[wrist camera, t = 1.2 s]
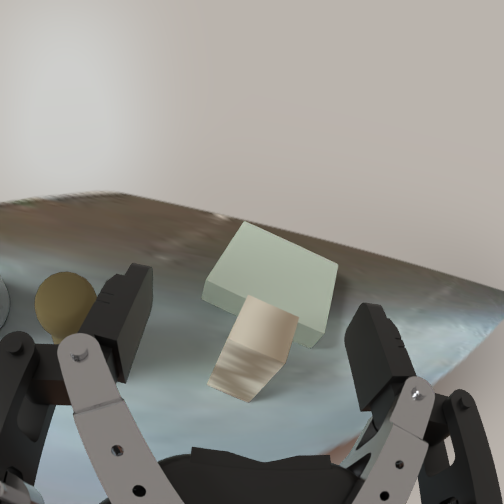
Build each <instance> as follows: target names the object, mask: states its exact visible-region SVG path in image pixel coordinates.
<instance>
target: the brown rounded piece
mask: <svg viewBox="0 0 504 504" xmlns="http://www.w3.org/2000/svg"><path fill="white" fill-rule="evenodd" d="M96 298H97V296H96V293H95V291H94V289H93V287H92V285H91V284H90V283H89V282H88V281H87V280H86V279H85V278H83V277H81V276H79V275H78V274H76V273H71V272H59V273H56V274H54V275H51V276H50V277H48V278H47V279H45V280H44V282H43V283H42V284H41V285H40V287H39V289H38V291H37V294H36V296H35V311H36V315H37V319H38V320H39V322H40V324H41V325H42V327H43V328H44V329H45V330H46V331H47V332H48V333H50V334H51V335H52V339H53V342H54V344H60V343H61V341H62V340H63V339H65V338H66V337H67V336H69V335H72V334H76V333H77V332H78V331H79V329H80V327H81V325H82V323H83V322H84V320H85V318H86V316H87V314H88V313H89V311H90V309H91V307H92V305H93V304H94V302H96Z"/></svg>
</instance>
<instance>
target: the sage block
mask: <svg viewBox="0 0 504 504" xmlns="http://www.w3.org/2000/svg"><path fill="white" fill-rule="evenodd" d="M337 269H338V264H336V263H334V262H332V261H330V260H328V259H326V258H324V257H321V256H319V255H317V254H315V253H313V252H311V251H309V250H307V249H304V248H302V247H300V246H298V245H296V244H294V243H291V242H289V241H287V240H285V239H283V238H281V237H278V236H276V235H274V234H272V233H270V232H267V231H265V230H263V229H261V228H259V227H256V226H254V225H252V224H250V223H247V222H245V221H244V222H243V224H242V225H241V227H240V228H239V230H238V232H237V233H236V235H235V236H234V238H233V239H232V241H231V242H230V244H229V245H228V247H227V248H226V250H225V251H224V253H223V254H222V256H221V257H220V259H219V260H218V262H217V264H216V265H215V267H214V268H213V270H212V271H211V273H210V274H209V276H208V277H207V279H206V282H205V286H204V289H203V293H202V297H201V299H202V300H204V301H206V302H208V303H210V304H212V305H214V306H217V307H219V308H221V309H223V310H225V311H227V312H229V313H231V314H233V315H235V316H238V315H239V313H240V311H241V309H242V306H243V304H244V302H245V300H246V298H247V296H248V295H250V296H253V297H255V298H257V299H259V300H261V301H264V302H266V303H268V304H270V305H273V306H275V307H277V308H279V309H282V310H284V311H286V312H288V313H291V314H293V315H295V316H298V317H299V320H298V324H297V327H296V330H295V334H294V337H293V340H292V341H293V342H296V343H298V344H300V345H303V346H305V347H308V348H310V349H311V348H312V347H313V346H314V345H315V344H316V343H317V341H318V340H319V339H320V338H321V337H322V336H323V335H324V333H325V329H326V324H327V320H328V315H329V310H330V305H331V300H332V295H333V290H334V285H335V280H336V274H337Z"/></svg>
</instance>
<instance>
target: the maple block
mask: <svg viewBox="0 0 504 504" xmlns="http://www.w3.org/2000/svg"><path fill="white" fill-rule="evenodd" d="M298 320H299V317H298V316H295V315H293V314H291V313H288V312H286V311H284V310H282V309H279V308H277V307H275V306H273V305H270V304H268V303H266V302H264V301H261V300H259V299H257V298H255V297H253V296H250V295H248V296H247V298H246V300H245V302H244V304H243V306H242V309H241V311H240V313H239V315H238V317H237V319H236V321H235V323H234V325H233V328H232V330H231V332H230V334H229V336H228V338H227V340H226V343H225V345H224V347H223V349H222V352H221V354H220V356H219V358H218V360H217V363H216V365H215V367H214V369H213V372H212V374H211V376H210V378H209V380H208V383H207V385H209V386H211V387H213V388H215V389H217V390H220V391H222V392H224V393H226V394H229V395H231V396H233V397H236V398H238V399H240V400H243V401H245V402H248V403H249V402H250V401H251V400H252V399H253V398H254V397H255V396H256V395H257V394H258V392H259V391H260V390H261V389H262V388H263V387H264V386H265V385H266V384H267V383H268V382H269V381H270V380H271V379H272V378H273V376H274V375H275V374H276V373H277V372H278V371H279V370H280V369H281V368H282V367H283V365H284V364H285V363H286V360H287V357H288V353H289V350H290V347H291V344H292V340H293V337H294V334H295V330H296V327H297V324H298Z"/></svg>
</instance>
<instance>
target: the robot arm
mask: <svg viewBox="0 0 504 504" xmlns="http://www.w3.org/2000/svg"><path fill="white" fill-rule="evenodd" d="M152 301H153V269H152V267H150V266H145V265H140V264H135V263H132V264H131V265H130V267H129V269H128V270H127V272H126V274H125V276H124V275H119V274H116V275H115V276H113V277H112V278H110V279H109V280H108V281H106V283H105V285H104V286H103V288H102V290H101V292H100V293H99V295H98V297H97V298H96V302H94V304H93V305H92V307H91V309H90V311H89V313H88V314H87V316H86V318H85V320H84V322H83V323H82V325H81V327H80V329H79V331H78V332H77V333H76V334H72V335H69V336H67V337H66V338H65V339H63V340H62V341H61V343H60V344H35V343H34V341H33V339H32V337H31V336H30V335H29V334H27V333H25V332H21V331H17V332H12V333H9V334H8V335H6V336H5V337H4V338H3V339H2V340H1V341H0V504H45V503H44V500H43V497H42V496H41V494H40V493H39V491H38V490H37V489H36V488H35V487H34V483H35V479H36V474H37V470H38V466H39V462H40V458H41V454H42V450H43V446H44V443H45V439H46V436H47V432H48V429H49V426H50V422H51V419H52V416H53V413H54V410H55V407H56V405H72V407H73V411H74V413H73V417H74V421H75V424H76V426H77V429H78V432H79V434H80V437H81V439H82V442H83V444H84V447H85V449H86V452H87V454H88V456H89V459H90V461H91V463H92V465H93V468H94V470H95V472H96V474H97V476H98V478H99V480H100V482H101V484H102V486H103V488H104V490H105V492H106V494H107V496H108V498H106V499H105V500H104V501H102V502H101V503H99V504H406V502H407V500H408V498H409V496H410V493H411V491H412V489H413V486H414V484H415V482H416V479H417V477H418V482H419V488H420V495H421V503H422V504H503V503H502V497H501V492H500V487H499V482H498V478H497V474H496V469H495V465H494V461H493V458H492V454H491V450H490V447H489V443H488V440H487V437H486V433H485V431H484V427H483V424H482V421H481V418H480V415H479V412H478V410H477V406H476V404H475V401H474V399H473V398H472V396H471V395H470V394H469V393H468V392H466V391H465V390H461V389H458V390H455V391H454V392H453V393H452V394H451V395H450V396H449V397H447V396H444V395H440V394H436V393H434V390H433V388H432V386H431V385H430V384H429V383H428V382H427V381H426V380H425V379H423V378H420V377H417V376H416V373H415V371H414V368H413V365H412V363H411V360H410V358H409V355H408V353H407V350H406V348H404V347H405V345H404V343H403V340H401V336H400V333H399V331H398V329H397V327H396V326H395V325H394V324H393V322H392V321H391V320H390V319H388V318H387V317H386V315H385V312H384V310H383V308H382V306H381V305H377V304H370V303H362V304H361V305H360V306H359V308H358V310H357V312H356V314H355V315H354V317H353V319H352V321H351V323H350V324H349V326H348V328H347V330H346V333H345V339H344V342H345V347H346V351H347V355H348V359H349V363H350V367H351V372H352V376H353V380H354V384H355V389H356V393H357V398H358V402H359V407H360V412H363V411H372V417H371V418H370V419H369V420H368V422H367V424H366V426H365V427H364V429H363V431H362V433H361V435H360V436H359V438H358V440H357V442H356V443H355V445H354V447H353V448H352V450H351V452H350V453H349V455H348V456H347V457H346V458H345V460H344V461H342V463H341V464H340V465H336V464H333V463H331V461H330V455H311V456H295V457H290V458H286V459H281V460H276V461H271V462H259V461H256V460H252V459H249V458H246V457H243V456H240V455H236V454H233V453H230V452H227V451H219V450H211V449H204V448H197V447H192V451H191V454H182V455H176V456H172V457H169V458H165V459H163V460H161V461H158V462H157V461H156V459H155V457H154V456H153V454H152V452H151V450H150V449H149V447H148V445H147V443H146V442H145V440H144V438H143V436H142V434H141V432H140V430H139V429H138V427H137V425H136V423H135V421H134V419H133V417H132V415H131V413H130V411H129V409H128V407H127V405H126V403H125V401H124V399H122V397H121V396H120V393H119V391H118V389H117V387H116V383H117V381H118V382H121V383H125V384H126V382H127V378H128V375H129V372H130V369H131V366H132V363H133V360H134V357H135V355H136V352H137V349H138V346H139V343H140V340H141V337H142V335H143V332H144V329H145V326H146V324H147V321H148V318H149V315H150V312H151V308H152ZM9 306H10V299H9V293H8V290H7V288H6V286H5V284H4V282H3V280H2V278H1V276H0V328H1V327H2V325H3V324H4V322H5V320H6V318H7V315H8V312H9ZM448 436H451V440H452V444H453V448H454V452H455V460H454V463H453V464H452V465H451V466H450V465H449V460H448V456H447V452H446V447H445V444H444V439H446V438H447V437H448Z"/></svg>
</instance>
